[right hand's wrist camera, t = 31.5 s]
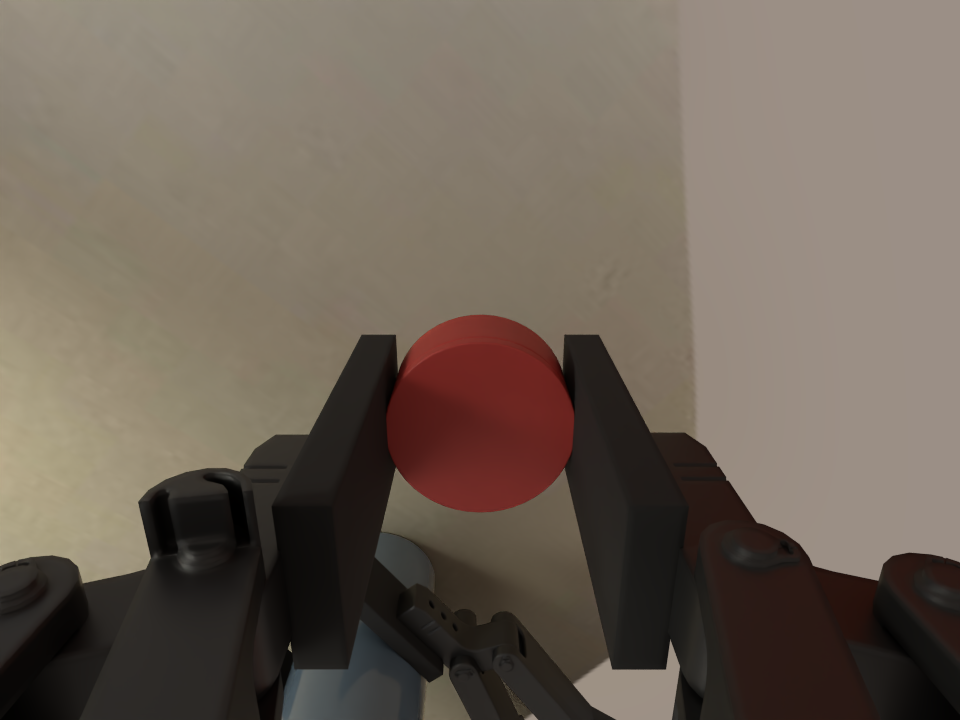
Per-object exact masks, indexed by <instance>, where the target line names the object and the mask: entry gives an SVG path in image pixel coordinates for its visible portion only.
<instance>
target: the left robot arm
mask: <svg viewBox="0 0 960 720" xmlns="http://www.w3.org/2000/svg"><path fill="white" fill-rule="evenodd" d="M360 620H361V621H362V622H363V623H364V624H366V625H367V626H368V627H369V628H370V629H371V630H372V631H373V632H374V633H375V634H377V635H378V636H379V637H380V638H381V639H382V640H383V641H384V642H385V643H386V644H387V645H389V646H390V647H391V648H392V649H393V650H394V651H395V652H396V653H397V654H398V655H399V656H401V657H402V658H403V659H404V660H405V661H406V662H407V663H409V665H410V666H411V667H413V668H414V669H415V670H416V671H417V672H418V673H419V674H420V675H421V676H422V677H424V678H425V679H426V680H427V681H428V682H431V681H433V680H435V679H436V678H438V677H440V676H441V675H443V665H444V664H445V665H446V666H447V667H448V668H449V676H450V680H451V681H452V683H453V685H454V687H455V689H456V691H457V693H458V695H459V697H460V699H461V701H462V703H463V704H464V706H465V708H466V710H467V712H468V714H469V716H470V718H471V720H524V718H523V716H522V715H518V713H517V711H516V709H515V707H514V705H513V703H512V701H511V699H510V697H509V695H508V693H507V690H506V688H505V686H504V684H503V682H502V680H503V681H504V682H505V683H506V684H507V685H508V686H509V687H510V689H511V690H512V691H513V692H514V693H515V694H516V695H517V696H518V698H519V699H520V700H521V701H522V702H523V703H524V704H525V705H526V706H527V708H528V709H529V710H530V711H531V712H532V713H533V714H534V715H535V717H536V718H537V719H538V720H615V719H614V718H612V717H610V716H608V715H606V714H604V713H603V712H601V711H599V710H597V709H595V708H594V707H592V706H590V704H589V703H588V702H587V701H586V700H585V698H584V697H583V696H582V695H581V694H580V692H579V691H578V690H577V689H576V688H575V687H574V685H573V684H572V683H571V682H570V681H569V679H568V678H567V677H566V676H565V675H564V673H563V672H562V671H561V670H560V669H559V668H558V666H557V665H556V664H555V663H554V662H553V660H552V659H551V658H550V657H549V656H548V654H547V653H546V652H545V651H544V650H543V649H542V647H541V646H540V645H539V644H538V643H537V641H536V640H535V639H534V638H533V637H532V635H531V634H530V633H529V632H528V631H527V630H526V628H525V627H524V626H523V625H522V624H521V622H520V621H519V620H518V619H517V618H516V616H515V615H513V614H512V613H510V612H499V613H496V614H495V615H494V616H493V617H492V619H491V623H487V624H483V625H479V626H476V615H475V613H474V612H472V611H470V610H466V609H462V610H458V611H456V612H455V613H453V612H452V611H451V610H450V609H449V608H448V607H447V606H446V605H445V604H444V603H442V602H441V600H440V599H439V598H438V597H436V595H435V594H433V593H432V592H431V591H430V590H429V589H428V588H427V587H425V586H422V585H420V584H418V583H416V584H415V585H413V586H411V587H410V588H408V589H407V588H406V587H405V586H404V585H403V584H402V583H401V582H400V581H399V580H398V579H397V578H396V577H395V576H394V575H393V574H392V573H391V572H390V571H389V570H388V569H387V568H386V567H385V566H384V565H382V564H381V563H380V562H379V561H378V560H377V559H376V558H375V557H374V562H373V566H372V570H371V574H370V579H369V583H368V587H367V591H366V596H365V600H364V604H363V608H362V613H361V617H360ZM292 663H293V655H292V652H290V651H289V650H288V649H287V652H286V655H285V658H284V661H283V663H282V666H281V669H280V671H281V678H282V684H283V691H284V687H285V684H286V681H287V678H288V675H289V672H290V669H291V666H292ZM500 677H501V678H500ZM501 679H502V680H501Z"/></svg>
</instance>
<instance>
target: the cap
mask: <svg viewBox="0 0 960 720" xmlns="http://www.w3.org/2000/svg"><path fill="white" fill-rule="evenodd" d="M386 423H387V440H388V450H389V453H390V455H391V458H392V460H393V462H394V464H395V465H396V467H397V469H398V471H399V472H400V473H401V475H402V476H403V477H404V478H405V480H406V481H407V482H408V483H409V484H410V485H411V486H412V487H413V488H414V489H416V490H417V491H418V492H420V493H421V494H422V495H424V496H425V497H427V498H429V499H430V500H432V501H434V502H436V503H439V504H441V505H443V506H446V507H449V508H453V509H456V510H462V511H467V512H493V511H500V510H504V509H508V508H512V507H515V506H518V505H520V504H523V503H525V502H527V501H529V500H531V499H532V498H534V497H536V496H537V495H539V494H540V493H542V492H543V491H544V490H545V489H546V488H548V487H549V486H550V485H551V484H552V483H553V482H554V481H555V480H556V478H557V477H558V476H559V475H560V473H561V472H562V470H563V469H564V467H565V466H566V464H567V462H568V460H569V458H570V456H571V453H572V446H573V430H574V407H573V404H572V401H571V397H570V394H569V391H568V388H567V385H566V382H565V378H564V375H563V372H562V369H561V366H560V364H559V362H558V360H557V358H556V356H555V354H554V353H553V351H552V350H551V348H550V347H549V346H548V345H547V344H546V342H545V341H544V340H543V339H542V338H540V337H539V336H538V335H537V334H536V333H535V332H533V331H532V330H530V329H529V328H527V327H525V326H523V325H521V324H519V323H517V322H515V321H512V320H509V319H506V318H502V317H498V316H491V315H469V316H463V317H458V318H455V319H452V320H448V321H446V322H444V323H442V324H439V325H437V326H436V327H434V328H432V329H431V330H429V331H428V332H427V333H425V334H424V335H423V336H422V337H420V338H419V339H418V340H417V341H416V343H415V344H414V345H413V346H412V347H411V348H410V350H409V351H408V353H407V354H406V356H405V358H404V360H403V362H402V364H401V366H400V369H399V372H398V375H397V378H396V381H395V385H394V388H393V391H392V394H391V398H390V401H389V404H388V407H387V412H386Z"/></svg>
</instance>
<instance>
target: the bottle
mask: <svg viewBox="0 0 960 720" xmlns="http://www.w3.org/2000/svg"><path fill="white" fill-rule="evenodd" d="M375 558H376V559H377V560H378V561H379V562H380V563H381V564H382V565H384V566H385V567H386V568H387V569H388V570H389V571H390V572H391V573H392V574H393V575H394V576H395V577H396V578H397V579H398V580H399V581H400V582H401V583H402V584H403V585H404V586H405V587H406V588H407V589H408V588H410V587H411V586H413V585H415V584H416V583H418V584H420V585H422V586H425V587H427V588H428V589H429V590H430V591H431V592H432V593H433V594H434V588H435V574H434V569H433V566H432V564H431V562H430V560H429V558H428V557H427V555H426V554H425V553H424V552H423V551H422V550H421V549H420V548H419V547H418V546H417V545H415V544H414V543H412V542H411V541H409V540H407V539H405V538H403V537H400V536H398V535H394V534H390V533H383V532H380V536H379V540H378V545H377V549H376V553H375ZM426 685H427V680H426V679H425V678H424V677H422V676H421V675H420V674H419V673H418V672H417V671H416V670H415V669H414V668H413V667H411V666H410V665H409V663H407V662H406V661H405V660H404V659H403V658H402V657H401V656H399V655H398V654H397V653H396V652H395V651H394V650H393V649H392V648H391V647H390V646H389V645H387V644H386V643H385V642H384V641H383V640H382V639H381V638H380V637H379V636H378V635H377V634H375V633H374V632H373V631H372V630H371V629H370V628H369V627H368V626H367V625H366V624H364V623H363V622H362V621H361V620H360V621H359V625H358V629H357V634H356V638H355V642H354V646H353V651H352V655H351V659H350V663H349V668H348V669H299V670H298V669H297V670H294V662H293V663H292V666H291V669H290V672H289V675H288V678H287V681H286V684H285V687H284V691H283V692H284V702H283V711H282V720H424V710H425V697H426Z"/></svg>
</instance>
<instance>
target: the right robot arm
mask: <svg viewBox="0 0 960 720" xmlns="http://www.w3.org/2000/svg"><path fill="white" fill-rule="evenodd" d="M397 375H398V367H397V347H396V335H361V337H360V339H359V341H358V343H357V345H356V347H355V349H354V350H353V352H352V354H351V356H350V358H349V360H348V362H347V364H346V366H345V367H344V369H343V371H342V373H341V375H340V377H339V379H338V381H337V383H336V385H335V386H334V388H333V390H332V392H331V394H330V396H329V398H328V400H327V402H326V404H325V405H324V407H323V409H322V411H321V413H320V415H319V417H318V419H317V421H316V422H315V424H314V426H313V428H312V430H311V432H310V434H309V435H275V436H273V437H272V438H270V439H269V440H267V441H266V442H264V443H263V444H262V445H260V446H259V447H257V448H256V449H255V450H254V451H253V453H252V454H251V456H250V457H249V459H248V460H247V462H246V463H245V465H244V469H241V471H240V472H239V471H235V470H231V469H227V468H206V469H201V470H195V471H190V472H185V473H183V474H180V475H177V476H174V477H172V478H169V479H166V480H164V481H163V482H161V483H159V484H158V485H156V486H154V487H153V488H151V489H150V490H148V491H147V492H146V494H145V495H144V496H143V497H142V498H141V499H140V500H139V502H138V504H139V508H140V512H141V516H142V521H143V525H144V529H145V534H146V538H147V542H148V547H149V551H150V555H151V559H150V562H149V564H148V566H147V568H146V569H145V570H141V571H138V572H134V573H131V574H126V575H122V576H117V577H112V578H107V579H102V580H98V581H93V582H88V583H82V579H81V576H80V572H79V569H78V567H77V566H76V565H75V564H74V563H73V562H72V561H71V560H70V559H67V558H62V557H57V556H41V557H30V558H25V559H21V560H18V561H13V562H10V563H7V564H4V565H2V566H0V720H282V711H283V702H284V692H283V684H282V678H281V671H280V669H281V666H282V663H283V661H284V658H285V655H286V652H287V649H288V647H289V644H290V641H291V648H292V655H293V662H294V670H297V669H298V670H299V669H348V668H349V663H350V659H351V655H352V651H353V646H354V642H355V638H356V634H357V629H358V625H359V621H360V617H361V613H362V608H363V604H364V600H365V596H366V591H367V587H368V583H369V579H370V574H371V570H372V566H373V562H374V557H375V553H376V549H377V545H378V540H379V536H380V532H381V528H382V523H383V519H384V515H385V511H386V507H387V502H388V498H389V494H390V490H391V485H392V481H393V477H394V473H395V468H396V465H395V464H394V462H393V460H392V458H391V455H390V453H389V450H388V440H387V423H386V412H387V407H388V404H389V401H390V398H391V394H392V391H393V388H394V385H395V381H396V378H397ZM563 375H564V378H565V382H566V385H567V388H568V391H569V394H570V397H571V401H572V404H573V407H574V430H573V446H572V453H571V456H570V458H569V460H568V462H567V464H566V466H565V471H566V475H567V479H568V484H569V488H570V492H571V496H572V501H573V505H574V509H575V513H576V518H577V522H578V526H579V530H580V534H581V539H582V543H583V547H584V551H585V556H586V560H587V564H588V568H589V573H590V577H591V581H592V585H593V590H594V594H595V598H596V602H597V607H598V611H599V615H600V619H601V623H602V628H603V632H604V636H605V640H606V645H607V649H608V653H609V657H610V661H611V666H612V669H666V665H667V658H668V651H669V644H670V639H671V642H672V645H673V647H674V650H675V653H676V656H677V659H678V662H679V664H680V671H679V678H678V684H677V691H676V697H675V704H674V710H673V717H672V720H960V562H957V561H954V560H951V559H948V558H943V557H940V556H935V555H930V554H919V553H905V554H900V555H895V556H892V557H891V558H890V559H889V560H888V561H886V562H885V563H884V564H883V567H882V571H881V574H880V578H879V581H876V580H871V579H867V578H862V577H857V576H852V575H847V574H843V573H838V572H833V571H829V570H826V569H822V568H818V567H815V566H813V565H812V563H811V560H810V558H809V557H808V555H807V554H806V552H805V551H804V550H803V548H802V547H801V546H800V544H798V543H797V542H796V541H794V540H793V539H791V538H790V537H789V536H787V535H786V534H784V533H783V532H780V531H778V530H776V529H773V528H771V527H769V526H766V525H764V524H759V523H757V522H756V521H755V520H754V518H753V517H752V515H751V514H750V512H749V511H748V509H747V508H746V506H745V505H744V503H743V502H742V500H741V499H740V497H739V496H738V494H737V493H736V491H735V490H734V488H733V487H732V485H731V484H730V482H729V481H726V476H725V475H724V473H723V472H722V470H721V469H720V467H717V463H716V461H715V460H714V458H713V457H712V455H711V454H710V452H709V451H708V450H707V448H706V447H705V446H704V445H702V444H701V443H699V442H698V441H696V440H695V439H693V438H692V437H690V436H689V435H687V434H686V433H650V431H649V429H648V427H647V425H646V424H645V422H644V420H643V418H642V416H641V414H640V412H639V410H638V408H637V406H636V405H635V403H634V401H633V399H632V397H631V395H630V393H629V391H628V389H627V388H626V386H625V384H624V382H623V380H622V378H621V376H620V374H619V372H618V370H617V369H616V367H615V365H614V363H613V361H612V359H611V357H610V355H609V353H608V352H607V350H606V348H605V346H604V344H603V342H602V340H601V338H600V336H599V335H565V336H564V355H563Z"/></svg>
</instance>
